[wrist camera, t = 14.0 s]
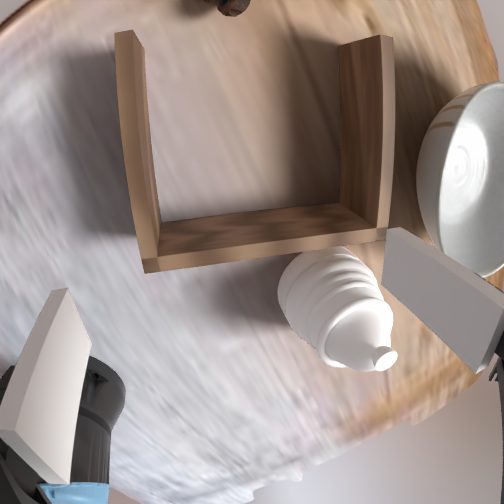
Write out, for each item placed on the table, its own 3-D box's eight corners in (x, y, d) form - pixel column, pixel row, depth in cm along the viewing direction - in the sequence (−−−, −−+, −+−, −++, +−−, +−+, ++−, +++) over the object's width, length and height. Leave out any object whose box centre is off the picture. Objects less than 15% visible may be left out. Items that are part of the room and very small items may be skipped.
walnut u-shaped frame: (151, 236, 36) (144, 273, 28) (130, 51, 27) (114, 33, 19) (348, 212, 41) (386, 239, 33) (349, 47, 31) (392, 37, 23)
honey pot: (268, 260, 41) (323, 356, 25) (357, 232, 42) (442, 303, 26) (285, 333, 47) (330, 427, 31) (361, 304, 48) (425, 382, 32)
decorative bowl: (388, 54, 32) (454, 47, 22) (500, 105, 38) (553, 116, 28) (361, 245, 43) (411, 289, 33) (473, 244, 49) (518, 273, 39)
